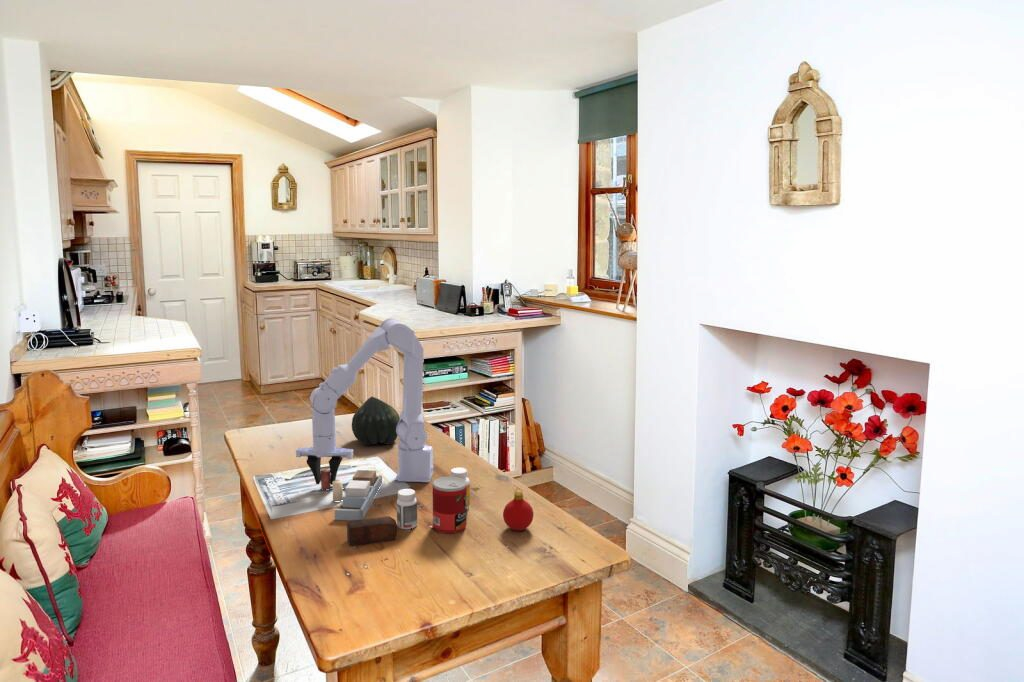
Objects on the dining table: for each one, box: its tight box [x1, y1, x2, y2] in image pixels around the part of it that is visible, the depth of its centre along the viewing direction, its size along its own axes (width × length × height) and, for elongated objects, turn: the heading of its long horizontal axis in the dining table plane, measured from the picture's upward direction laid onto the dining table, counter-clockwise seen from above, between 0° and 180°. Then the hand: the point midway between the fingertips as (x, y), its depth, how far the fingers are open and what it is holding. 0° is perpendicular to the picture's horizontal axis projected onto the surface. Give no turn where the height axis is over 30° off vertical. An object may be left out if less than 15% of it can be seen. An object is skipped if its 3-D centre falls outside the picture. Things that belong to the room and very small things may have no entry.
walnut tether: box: [320, 468, 377, 491], centre depth 188 cm, size 14×5×5 cm, turn 88°
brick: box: [346, 515, 398, 547], centre depth 160 cm, size 11×4×5 cm, turn 112°
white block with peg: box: [332, 479, 370, 502], centre depth 181 cm, size 9×5×5 cm, turn 88°
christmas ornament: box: [502, 487, 534, 531], centre depth 166 cm, size 7×7×10 cm
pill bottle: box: [396, 488, 418, 530], centre depth 167 cm, size 5×5×8 cm
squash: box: [351, 396, 400, 446], centre depth 225 cm, size 14×15×15 cm
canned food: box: [432, 476, 468, 534], centre depth 167 cm, size 8×8×11 cm
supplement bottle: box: [450, 467, 471, 510], centre depth 178 cm, size 5×5×10 cm
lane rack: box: [334, 475, 383, 521], centre depth 181 cm, size 7×22×2 cm, turn 178°
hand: (325, 483), depth 188 cm, fingers open, 3 cm apart
